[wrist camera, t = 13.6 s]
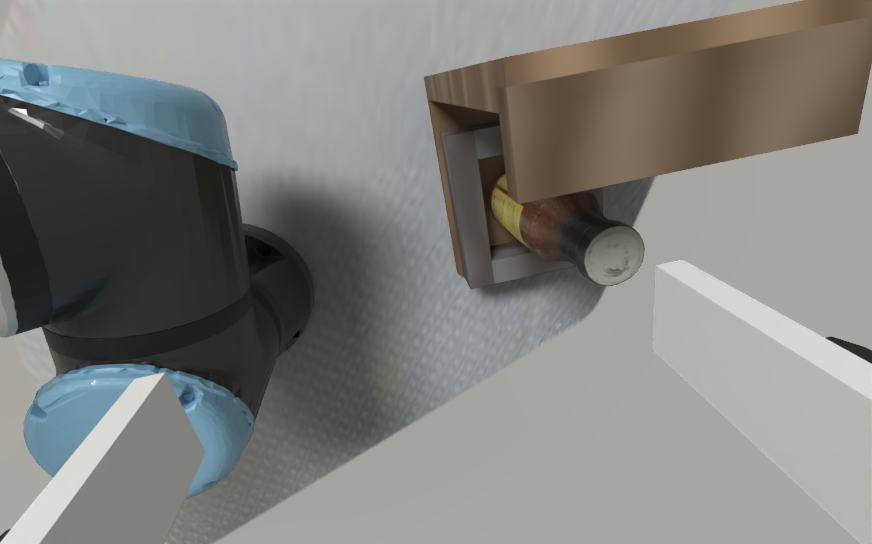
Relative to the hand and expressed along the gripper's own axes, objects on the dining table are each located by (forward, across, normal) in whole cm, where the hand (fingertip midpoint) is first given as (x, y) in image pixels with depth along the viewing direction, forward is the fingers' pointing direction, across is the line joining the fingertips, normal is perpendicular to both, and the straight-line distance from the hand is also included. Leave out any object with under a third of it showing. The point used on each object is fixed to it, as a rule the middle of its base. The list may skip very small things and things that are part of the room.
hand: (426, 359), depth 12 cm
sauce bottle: (+34, +12, -6) cm, 36 cm away
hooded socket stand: (+35, +12, -3) cm, 37 cm away
